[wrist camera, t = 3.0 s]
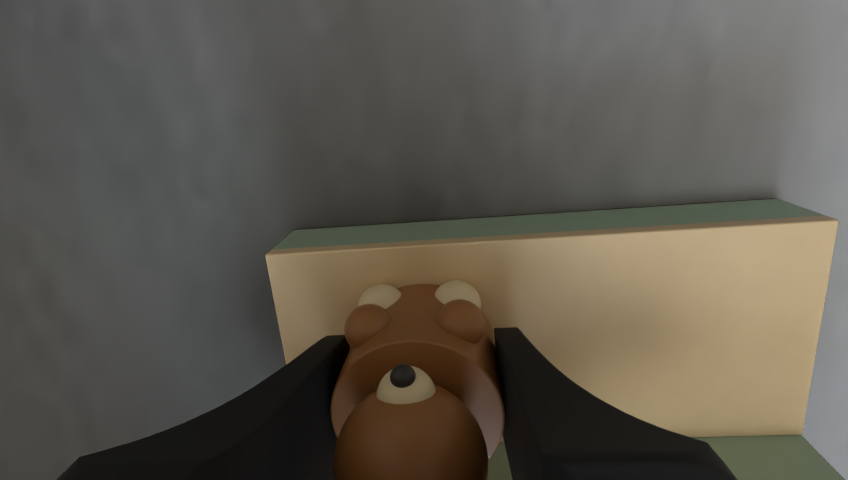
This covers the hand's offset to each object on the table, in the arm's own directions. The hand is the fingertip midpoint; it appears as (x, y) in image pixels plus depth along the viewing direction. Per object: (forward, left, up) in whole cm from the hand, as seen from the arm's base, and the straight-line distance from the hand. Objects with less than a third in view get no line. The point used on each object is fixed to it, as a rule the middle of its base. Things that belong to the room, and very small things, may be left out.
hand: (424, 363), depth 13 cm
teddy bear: (0, 0, -1) cm, 1 cm away
